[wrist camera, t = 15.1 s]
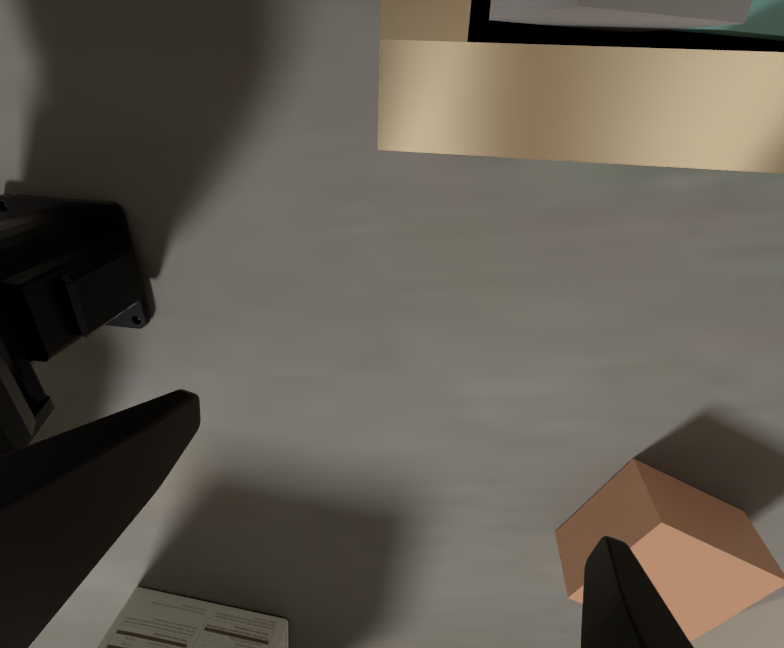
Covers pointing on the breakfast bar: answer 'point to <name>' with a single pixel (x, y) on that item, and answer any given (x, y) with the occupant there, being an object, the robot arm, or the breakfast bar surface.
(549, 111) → the trapdoor box
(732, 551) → the plinth
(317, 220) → the breakfast bar surface
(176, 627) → the supplement box
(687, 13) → the trapdoor
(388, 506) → the breakfast bar surface
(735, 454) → the breakfast bar surface
